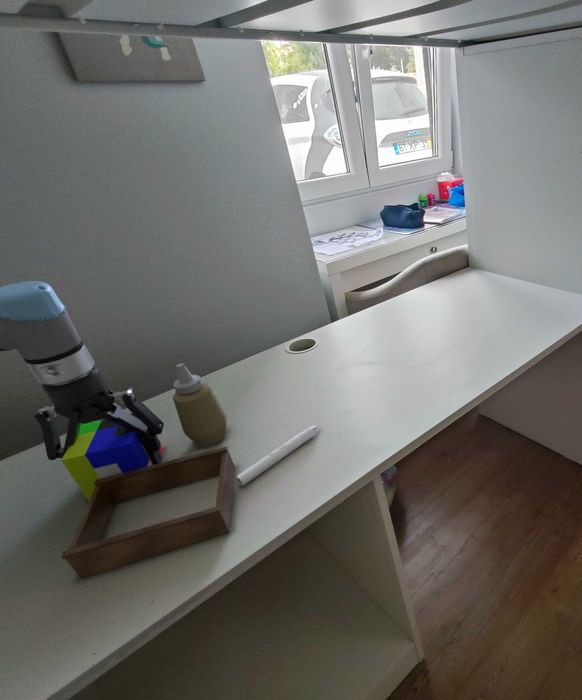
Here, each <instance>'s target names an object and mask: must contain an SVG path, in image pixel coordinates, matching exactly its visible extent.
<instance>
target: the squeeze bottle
mask: <svg viewBox="0 0 582 700" xmlns="http://www.w3.org/2000/svg"><path fill="white" fill-rule="evenodd" d="M175 367H176V375H177V379H176V380H175V381H174V382H173V385H172V386H173V389H174V390H175V392H174V393H173V396H172V400H173V402H174V406H175V409H176V413H177V416H178V419H179V422H180V426H181V428H182V432H183V433H184V435H185V436H186V437H187V438H188V439H189V440H191V441H192V442H193V443H194V444H195V445H197V446H199V447H207V446H208V447H209V446H212V445H214V444H216V443H219V442H220V441H221V440H223V439H224V438H225V436H226V435H227V420H228V416H227V415H226V413H225V411H224V410H223V407H222V405H221V404H220V402H219V401H218V399H217V397H216V395H215V393H214V391H213V390H212V388H211V386H210V385H209V384H208V383H205V382H203V381H202V378H201V376H200V375H198V374H191V372H190V371H189V370H188V368H187V367H186V366H185V365H184V363H178V364H176V366H175Z"/></svg>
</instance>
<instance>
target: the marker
mask: <svg viewBox="0 0 582 700" xmlns="http://www.w3.org/2000/svg"><path fill="white" fill-rule="evenodd" d="M319 429H320V426H319V425H312V426H308V427H307V428H305V429H304V430H302V431H301V432H299V433H298V434H297V435H295V436H293V437H292V438H291V439H289V440H287V442H285V443H283V444H282V445H280V446H279V447H277V448H275V450H273V451H272V452H270V453H269V454H267V455H265V456H264V457H263V458H262V459H260V460H258V461H256V462H255V463H254V464H252V465H251V466H249V467H248V468H247V469H245V470H244V471H242V472H241V473H239V474H238V475H237V476H235V479H236V481H237V483H238V484H239V485H240V486H242V487H243V486H245V485H247V484H248V483H249V482H251V481H252V480H254V479H255V478H256V477H258V476H259V475H261V474H262V473H264V472H265V471H266V470H267V469H269V468H270V467H272V466H274V465H275V464H276V463H278V462H279V461H280V460H282V459H283V458H285V457H286V456H288V455H289V454H290V453H292V452H293V451H294V450H296V449H297V448H299V447H300V446H303V444H305V443H306V442H308V441H309V440H310V439H312V438H313V437H314V436H315V435H316V434H317V432H318V431H319Z"/></svg>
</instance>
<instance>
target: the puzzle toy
mask: <svg viewBox="0 0 582 700" xmlns="http://www.w3.org/2000/svg"><path fill="white" fill-rule="evenodd" d="M129 414H131V415H132V416H134V417H136V416H135V415H134V414H133V413H132V412H130V413H129ZM136 418H137V417H136ZM142 440H143V438H142V437H140V436H138V435H137V433H136V431H129V430H128V429H126V428H124V427H122V426H120V425H118V424H117V423H115V422H109V421H107V420H105V419H103V420H97V421H91V422H89V423H85V424H83V423H81V426H80V431H79V435H78V438H77V439H76V441H75V443H74V445H71V446H69V447H68V449H67V451H66V453H65V454H64V456H63V458H61V463H62V465H64V467H65V468H66V470H67V471H68V473H69V474H70V476H71V477H72V479H73V480H74V481H75V483H76V484H77V486H78V487H79V489H80V490H81V492H82V493H83V494H84V496H85V497H86V499H87V500H88V501H89V500H90V498H91V496H92V494H93V491H94V489H95V487H96V486H95V485H94V482H95V480H97V479H101V478H105V477H108V476H112V475H116V474H120V473H124V472H128V471H132V470H136V469H140V468H143V467H147V466H151V465H153V463H152V461H151V459H150V457H149V456H148V454H147V452H146V450H145V448H144V447H143V445H142V443H141V442H142ZM159 452H160V454H161V455H162V454H163V447H162V445H161V446H160V450H159Z"/></svg>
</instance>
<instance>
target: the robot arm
mask: <svg viewBox="0 0 582 700" xmlns="http://www.w3.org/2000/svg"><path fill="white" fill-rule="evenodd" d="M13 350H16V351H17V352H18V353H19V355H20V356H21V358H22V359H23V361H24V362H25V363H26V365H27V367H28V368H29V370H30V371H31V373H32V374H33V376H34V377H35V378H36V381H37V383H39V384H41V388H42V390H43V392H44V393H45V395H46V396H47V398H48V399H49V401H50V402H51V403H52V404H53V405H52V406H47V405H42V406H40V408H39V409H38V411H37V412H36V413H35V414H34V419H35V420H36V421H37V422H38V424H39V425H40V427H41V433H42V437H43V442H44V448H45V451H46V457H47V459H48V460H49V461H55V460H57V459H62V458H63V456H64V454H65V453H66V451H67V449H68V447H69V446H71V445H74V443H75V441H76V439H77V438H78V435H79V431H80V426H81V425H82V424H87V423H91V422H95V421H100V420H104V419H105V420H107V421H109V422H115V423H117V424H118V425H120V426H122V427H124V428H126V429H128V430H129V431H136V433H137V435H138V436H140V437H142V438H143V440H142V442H141V443H142V445H143V447H144V448H145V450H146V452H147V454H148V456H149V457H150V459H151V461H152V463H153V465H155V464H159V463H162V461H163V456H162V454H160V452H159V450H160V446H161V447H162V442H161V441H160V439H159V437H158V435H161V434H162V433H163V430H164V426H165V423H164V422H163V421H162V420H161V419H160V418H159V417H158V416H157V415H156V414H155V413H154V412H153V411H152V410H151V409H150V408H149V407H148V406H147V405H145V404H144V402H143V401H142V400H141V399H140V398H138V396H137V394H136V392H135V389H134V388H132V387H127V388H126V389H125V390H124V391H117V392H114V391H112V390H111V389H110V388H109V387H108V385H107V382H106V380H105V379H104V376H103V374H102V373H101V371H100V369H99V367H97V366H96V362H95V360H94V358H93V357H92V355H91V353H90V352H89V350H88V348H87V346H86V345H85V343H84V341H83V339H82V338H81V337H80V335H79V333H78V331H77V329H76V327H75V325H74V324H73V322H72V320H71V317H70V315H69V313H68V312H67V308H66V306H65V304H64V303H63V302H62V301H61V300H60V298H59V296H58V295H57V294H56V292H55V290H54V289H53V287H52V286H51V285H50V284H49V283H47V282H43V281H40V280H28V281H27V280H26V281H21V282H17V283H10V284H6V285H3V286H1V287H0V352H5V351H13ZM115 401H118V402H120V404H121V405H124V406H125V407H126V408H127V410H128V411H129V412H130V413H133V414H134V415H135V416H136V417H137V418H136V417H134V416H132V415H131V414H130V413H129V412H127V411H126V410H123V408H122V407H121V406H120V405H118V404H117V403H115ZM58 415H59V416H61V417H65V418H67V419H68V423H67V431H66V436H65V440H64V445H63V447H62V443H61V438H60V432H59V426H58V421H57V416H58Z"/></svg>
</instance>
